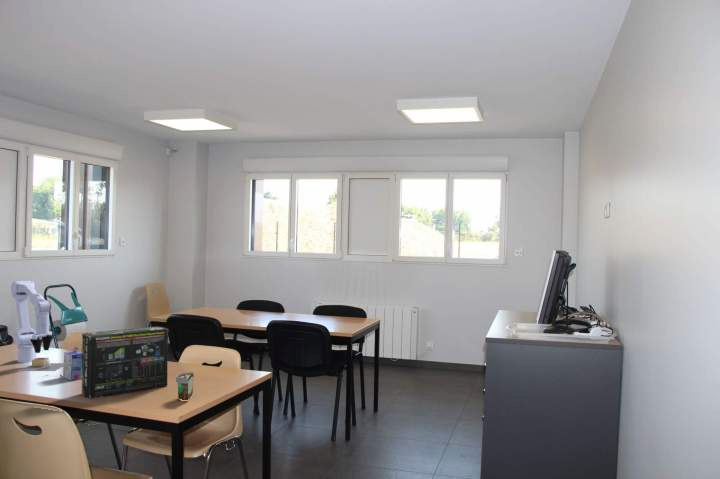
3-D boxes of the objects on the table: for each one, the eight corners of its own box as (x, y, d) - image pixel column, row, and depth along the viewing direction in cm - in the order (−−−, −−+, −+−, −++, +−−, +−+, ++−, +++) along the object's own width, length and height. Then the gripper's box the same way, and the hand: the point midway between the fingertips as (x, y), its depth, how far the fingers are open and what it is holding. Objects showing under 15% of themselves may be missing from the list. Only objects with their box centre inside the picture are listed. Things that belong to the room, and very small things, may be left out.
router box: (158, 381, 273) (159, 325, 273) (168, 386, 265) (170, 328, 265) (78, 394, 249) (80, 332, 249) (87, 399, 241) (88, 335, 241)
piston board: (37, 365, 301) (37, 355, 301) (69, 365, 303) (69, 355, 303) (20, 373, 283) (21, 362, 283) (54, 373, 285) (55, 362, 285)
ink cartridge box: (82, 379, 275) (83, 348, 275) (70, 380, 271) (71, 350, 271) (74, 375, 282) (75, 345, 282) (62, 377, 278) (63, 347, 278)
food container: (179, 394, 251) (179, 371, 251) (193, 394, 251) (193, 372, 252) (172, 402, 239) (172, 378, 239) (187, 402, 239) (187, 378, 239)
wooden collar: (36, 364, 298) (36, 357, 298) (48, 364, 299) (48, 357, 299) (31, 366, 292) (31, 360, 292) (43, 366, 293) (43, 360, 293)
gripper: (42, 326, 287) (41, 354, 287) (57, 323, 301) (57, 349, 301) (28, 326, 287) (27, 353, 287) (44, 322, 301) (44, 348, 301)
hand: (41, 351), depth 294 cm, fingers open, 7 cm apart
